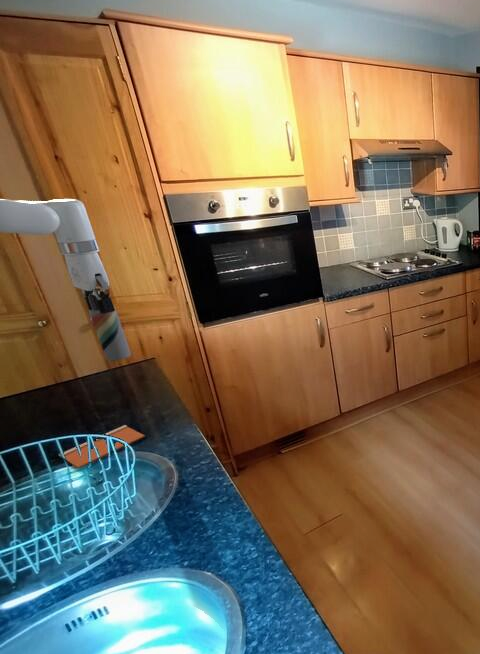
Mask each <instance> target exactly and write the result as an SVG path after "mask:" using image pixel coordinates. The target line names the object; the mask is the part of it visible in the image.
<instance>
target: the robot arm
mask: <svg viewBox="0 0 480 654" xmlns="http://www.w3.org/2000/svg"><path fill="white" fill-rule="evenodd" d="M87 212H88V211H87V210H86V206H85V205H84V203H83V201H81V200H79V199H74V198H64V199H51V200H48V201H33V200H32V201H30V200H29V201H28V200H12V199H3V198H0V233H7V234H22V235H35V236H45V235H49V234H52V233H54V235H55V238H56V241H57V243H58V246H59V249H60V251H61V254H62V256H64V259H65V260H64V261H65V264H66V267H67V271H68V274H69V277H70V281H71V283H72V286H73V287H75V288H76V289H79V290H81V292H82V295H83V297H84V300H85V302H86V305H87V308H88V310H89V311H90V310H92V306H91V304H90V301H89V298H88V296H89V294H90V293H94V294H95V296H96V298H97V299H98V300H96V302H97V305H98V307H99V310H100V313H101V314H105V313H109V312H113V311H115V310H116V308H115V306H114V303H113V299H112V295H111V294H110V293H111V292H110V291H111V288H110V280H109V277H108V274H107V272H106V269H105V267H104V264H103V262H102V260H101V258H100V255H99V253H100V248H99V245H98V242H97V240H96V236H95V233H94V230H93V227H92V224H91V221H90V218H89V215H88V213H87ZM97 287H98V288H97ZM98 292H100V294H99V293H98ZM114 308H115V309H114Z"/></svg>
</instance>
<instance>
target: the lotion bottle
mask: <svg viewBox="0 0 480 654" xmlns="http://www.w3.org/2000/svg"><path fill="white" fill-rule="evenodd" d="M98 293H99V294H100V291H98ZM88 298H89V301H90V304H91V306H92V310H89V311H88V313H89V316H90V319H91V322H92V324H93V325H92V326H93V327H94V330H95V333H96V335H97V338H98V341H99V343H100V346H101V348H102V351H103V354H104V356H105V359H106V360H107V361H108V362H117V361H122V360H125V359H128V358H130V356H131V355H132V354H131V350H130V347H129V343H128V341H127V338H126V335H125V333H124V330H123V326H122V324H121V321H120V317H119V315H118V311H117V309H116V307H114V309H115V311H113V312H109V313H105V314H101V313H100V310H99V307H98V305H97V302H96V300H98V299H97V298H96V296H95V294H94V293H90V294H89V296H88Z"/></svg>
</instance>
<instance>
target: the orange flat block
mask: <svg viewBox="0 0 480 654" xmlns="http://www.w3.org/2000/svg"><path fill="white" fill-rule="evenodd" d="M104 434H106V435H110V436H114V437H117V438H120V439H122V440H124V441H126V442H127V443H128V445H131V444H132V443H134V442H135V443H136V441H139V440H142V439H143V438H145V437H146V436H145V434H143V433H141V432H139V431H137V430H135V429H133V428H131V427H128V425H126V424H124V425H122V426H119V427H118V428H115V429H113V430H109V431H108V432H106V433H103V434H102V435H104ZM87 442H88V441H86V442H83V443H80V444H78V446H80V449H81V457H80V455H79V453H78V450H77V448H76V447H77V446H75V447H72V448H70V449H67V450H66V451H63V452H64V455H65V457H66V460H67V461H66V460H65V461H66V462H68V463H69V464H71V466H74V467H76V468H77V469H80V468H83V467H85V466H86V465H89V464H90V463H89V458H88V443H87ZM94 446H95V447H96V448H97V449H98V452H99V455H100V458H99V459H101V458H104V457H105V456H108V455H109V454H108V449H107V444H106V440H104V439H96V441H94ZM124 447H125V446H124V445H123V444H121V443H119V442H116V443H115V448H116V451H118V450H121V449H123V448H124ZM60 454H61V453H59V454H58V457H60V458H61V459H63V458H62V456H61V455H60ZM99 459H98V458H97V455H96V452H95V450H94V448H93V449H91V463H93V462H96V461H97V460H99Z"/></svg>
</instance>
